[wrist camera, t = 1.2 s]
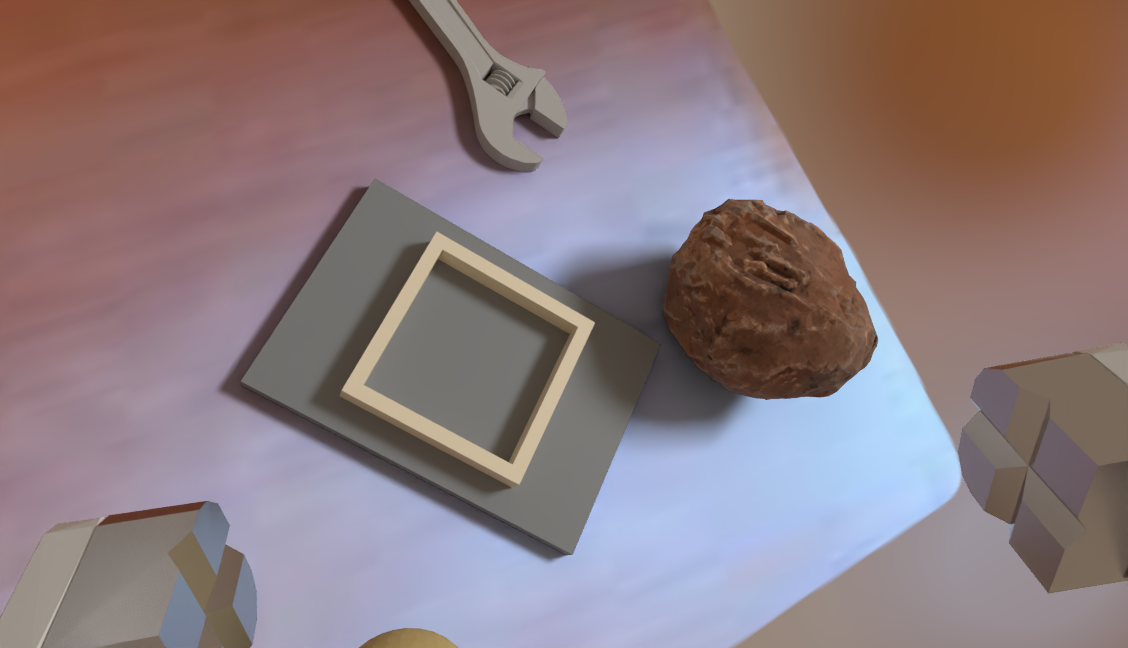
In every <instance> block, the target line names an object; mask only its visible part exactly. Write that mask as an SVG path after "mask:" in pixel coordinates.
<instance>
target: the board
mask: <svg viewBox="0 0 1128 648" xmlns="http://www.w3.org/2000/svg"><path fill="white" fill-rule="evenodd" d="M660 346H661V344H660V343H658V342H657V341H655V340H653V339H651V338H650V337H648V336H646V335H645V334H643V333H641V332H639V331H638V330H636V329H634V328H632V327H631V326H629V325H627V324H626V323H624V322H622V321H620V320H619V319H617V318H615V317H613V316H612V315H610V314H608V313H607V312H605V311H603V310H601V309H600V308H598V307H596V306H594V305H593V304H591V303H589V302H588V301H586V300H584V299H582V298H581V297H579V296H577V295H575V294H574V293H572V292H570V291H569V290H567V289H565V288H563V287H562V286H560V285H558V284H557V283H555V282H553V281H551V280H550V279H548V278H546V277H544V276H543V275H541V274H539V273H538V272H536V271H534V270H532V269H531V268H529V267H527V266H525V265H524V264H522V263H520V262H519V261H517V260H515V259H513V258H512V257H510V256H508V255H506V254H505V253H503V252H501V251H500V250H498V249H496V248H494V247H493V246H491V245H489V244H487V243H486V242H484V241H482V240H481V239H479V238H477V237H475V236H474V235H472V234H470V233H468V232H467V231H465V230H463V229H462V228H460V227H458V226H456V225H455V224H453V223H451V222H450V221H448V220H446V219H444V218H443V217H441V216H439V215H437V214H436V213H434V212H432V211H431V210H429V209H427V208H425V207H424V206H422V205H420V204H418V203H417V202H415V201H413V200H412V199H410V198H408V197H406V196H405V195H403V194H401V193H399V192H398V191H396V190H394V189H393V188H391V187H389V186H387V185H386V184H384V183H382V182H380V181H379V180H377V179H374V181H373V182H372V184H371V185H370V187H369V188H368V190H367V191H366V193H365V194H364V196H363V197H362V199H361V200H360V202H359V203H358V205H357V206H356V208H355V209H354V211H353V212H352V214H351V215H350V217H349V218H348V220H347V221H346V223H345V224H344V226H343V227H342V229H341V230H340V232H339V233H338V235H337V236H336V238H335V239H334V241H333V242H332V244H331V245H330V247H329V248H328V250H327V251H326V253H325V255H324V256H323V258H322V259H321V261H320V262H319V264H318V265H317V267H316V268H315V270H314V271H313V273H312V274H311V276H310V277H309V279H308V280H307V282H306V283H305V285H304V286H303V288H302V289H301V291H300V292H299V294H298V295H297V297H296V298H295V300H294V301H293V303H292V304H291V306H290V307H289V309H288V310H287V312H286V313H285V315H284V316H283V318H282V319H281V321H280V322H279V324H278V325H277V327H276V328H275V330H274V332H273V333H272V335H271V336H270V338H269V339H268V341H267V342H266V344H265V345H264V347H263V348H262V350H261V351H260V353H259V354H258V356H257V357H256V359H255V360H254V362H253V363H252V365H251V366H250V368H249V369H248V371H247V372H246V374H245V375H244V377H243V378H242V380H241V385H242V386H243V387H245V388H247V389H249V390H251V391H253V392H255V393H257V394H259V395H261V396H263V397H265V398H266V399H268V400H270V401H272V402H274V403H276V404H278V405H280V406H282V407H284V408H286V409H288V410H289V411H291V412H293V413H295V414H297V415H299V416H301V417H303V418H305V419H307V420H309V421H311V422H312V423H314V424H316V425H318V426H320V427H322V428H324V429H326V430H328V431H330V432H332V433H334V434H335V435H337V436H339V437H341V438H343V439H345V440H347V441H349V442H351V443H353V444H355V445H357V446H358V447H360V448H362V449H364V450H366V451H368V452H370V453H372V454H374V455H376V456H378V457H380V458H381V459H383V460H385V461H387V462H389V463H391V464H393V465H395V466H397V467H399V468H401V469H403V470H404V471H406V472H408V473H410V474H412V475H414V476H416V477H418V478H420V479H422V480H424V481H426V482H427V483H429V484H431V485H433V486H435V487H437V488H439V489H441V490H443V491H445V492H447V493H449V494H450V495H452V496H454V497H456V498H458V499H460V500H462V501H464V502H466V503H468V504H470V505H472V506H474V507H475V508H477V509H479V510H481V511H483V512H485V513H487V514H489V515H491V516H493V517H495V518H497V519H498V520H500V521H502V522H504V523H506V524H508V525H510V526H512V527H514V528H516V529H518V530H520V531H521V532H523V533H525V534H527V535H529V536H531V537H533V538H535V539H537V540H539V541H541V542H543V543H544V544H546V545H548V546H550V547H552V548H554V549H556V550H558V551H560V552H562V553H564V554H566V555H573V553H574V550H575V548H576V545H577V543H578V541H579V538H580V536H581V534H582V531H583V529H584V526H585V524H586V522H587V519H588V517H589V515H590V512H591V510H592V507H593V505H594V503H595V500H596V498H597V495H598V493H599V491H600V488H601V486H602V484H603V481H604V479H605V476H606V474H607V472H608V469H609V467H610V465H611V462H612V460H613V457H614V455H615V453H616V450H617V448H618V446H619V443H620V441H621V438H622V436H623V434H624V431H625V429H626V426H627V424H628V422H629V419H630V417H631V415H632V412H633V410H634V407H635V405H636V403H637V400H638V398H639V396H640V393H641V391H642V388H643V386H644V384H645V381H646V379H647V377H648V374H649V372H650V369H651V367H652V365H653V362H654V360H655V357H656V355H657V353H658V350H659V348H660Z"/></svg>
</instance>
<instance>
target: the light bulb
mask: <svg viewBox="0 0 1128 648" xmlns="http://www.w3.org/2000/svg"><path fill="white" fill-rule="evenodd" d="M359 648H458V647H457V646H456V645H455V644H453V643H452V642H451V641H450V640H448V639H447V638H445V637H443V636H441V635H439V634H437V633H435V632H432V631H428V630H424V629H416V628H404V629H398V630H392V631H389V632H386V633H382V634H380V635H378V636H376V637H374V638H372V639H370V640H369V641H367V642H366V643H365V644H363V645H362V646H361V647H359Z"/></svg>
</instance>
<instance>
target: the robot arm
mask: <svg viewBox="0 0 1128 648" xmlns="http://www.w3.org/2000/svg"><path fill="white" fill-rule="evenodd" d="M970 398H971V399H972V401H973V402H974V403H975V405H976V406H977V408H978V409H979V410H980V411H979V412H978V413H977V414H976V415H975V416H974V417H973V418H972V419H971V420H970V421H969V422H968V423H967V424H966V425H965V426H964V427H963V429H962V433H961V439H960V444H959V449H958V454H959V460H960V465H961V471H962V476H963V478H964V480H965V482H966V484H967V486H968V488H969V490H970V492H971V494H972V495H973V497H974V498H975V499H976V501H977V502H978V503H979V505H980V506H981V507H982V509H983V510H984V511H985V512H987V513H989V514H991V515H993V516H995V517H997V518H999V519H1001V520H1003V521H1005V522H1007V523H1009V524H1010V532H1009V544H1010V545H1011V546H1012V548H1013V549H1014V550H1015V551H1016V553H1017V554H1018V555H1019V556H1020V558H1021V559H1022V560H1023V562H1024V563H1025V564H1026V565H1027V567H1028V568H1029V569H1030V570H1031V572H1032V573H1033V574H1034V575H1035V577H1036V578H1037V579H1038V580H1039V582H1040V583H1041V584H1042V586H1043V587H1044V588H1045V590H1046V591H1047V592H1048V593H1054V592H1060V591H1066V590H1072V589H1078V588H1084V587H1091V586H1097V585H1103V584H1109V583H1115V582H1121V581H1128V345H1126V344H1122V343H1117V344H1111V345H1106V346H1101V347H1096V348H1090V349H1085V350H1080V351H1075V352H1073V353H1065V354H1060V355H1054V356H1049V357H1043V358H1038V359H1032V360H1027V361H1021V362H1015V363H1010V364H1004V365H999V366H994V367H988V368H984V369H983V370H982V372H981V373H980V374H979V375H978V376H977V377H976V379H975V381H974V385H973V389H972V393H971V396H970ZM229 527H230V525H229V523H228V521H227V519H226V517H225V516H224V514H223V512H222V510H221V508H220V506H219V505H218V503H214V502H209V501H204V502H197V503H190V504H183V505H177V506H170V507H163V508H156V509H149V510H143V511H136V512H129V513H122V514H115V515H109V516H108V517H104V518H97V519H89V520H82V521H75V522H68V523H61V524H57V525H56V526H54V527H53V528H52V529H50V530H49V531H48V532H47V533H45V534H44V535H43V537H42V538H41V540H40V542H39V544H38V546H37V548H36V550H35V552H34V554H33V556H32V558H31V560H30V561H29V563H28V565H27V567H26V569H25V571H24V573H23V575H22V577H21V579H20V581H19V583H18V584H17V586H16V588H15V590H14V592H13V594H12V596H11V598H10V600H9V602H8V604H7V606H6V607H5V609H4V611H3V613H2V615H1V617H0V648H250V647H251V646H252V644H253V639H254V633H255V628H256V622H257V591H256V587H255V582H254V578H253V574H252V570H251V568H250V566H249V564H248V562H247V560H246V557H245V555H244V554H242V553H240V552H239V551H237V550H235V549H233V548H231V547H229V546H227V545H226V544H225V543H226V539H227V535H228V531H229Z"/></svg>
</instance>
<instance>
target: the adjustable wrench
mask: <svg viewBox="0 0 1128 648" xmlns="http://www.w3.org/2000/svg"><path fill="white" fill-rule="evenodd" d="M409 1H410V3H411V4H412V5H413V7H414V8H415V9H416V11H417V12H418V13H419V15H420V16H421V17H422V19H423V20H424V21H425V23H426V24H427V25H428V27H429V28H430V29H431V31H432V32H433V33H434V35H435V36H436V37H437V39H438V40H439V41H440V43H441V44H442V45H443V47H444V48H445V49H446V51H447V52H448V53H449V55H450V56H451V57H452V59H453V60H454V61H455V63H456V65H457V66H458V68H459V69H460V71H461V74H462V76H463V79H464V81H465V85H466V88H467V92H468V95H469V98H470V103H471V107H472V113H473V120H474V126H475V133H476V136H477V139H478V141H479V143H480V145H481V146H482V148H483V150H484V151H485V152H486V153H487V154H488V155H489V156H490V157H491V158H492V159H493V160H495V161H496V162H497V163H499V164H501V165H502V166H504V167H506V168H509V169H513V170H516V171H519V172H533V171H535V170H536V169H537V168H538V167H539V165H540V164H541V162H542V160H543V158H542V157H541V156H539V155H538V154H536V153H535V152H533V151H532V150H530V149H529V148H527V147H526V146H524V145H523V144H522V143H520V142H519V141H517V140H516V139H514V138H513V120H514V119H515V117H517V116H519V115H522V114H527V113H530V119H531V120H533V121H534V122H535V123H537V124H538V125H540V126H541V127H543V128H544V129H546V130H547V131H548V132H550V133H551V134H553V135H554V136H556V137H557V138H559V137H560V135H561V134H562V132H563V131H564V129H565V127H566V126H567V124H568V123H567V116H566V112H565V109H564V106H563V103H562V101H561V99H560V97H559V95H558V94H557V93H556V91H555V90H554V88H553V87H552V86H551V85H550V83H549V82H548V81H547V80H546V79H545V78H544V75H545V73H546V71H544V70H542V69H535V68H534V67H532V66H529V67H524V66H521V65H519V64H517V63H515V62H513V61H511V60H509V59H507V58H505V57H503V56H502V55H500V54H499V53H498V52H496V51H495V50H494V49H493V48H492V47H491V46H490V45H489V44H488V43H487V42H486V41H485V39H484V38H483V37H482V35H481V34H480V33H479V31H478V30H477V29H476V27H475V26H474V24H473V23H472V22H471V20H470V19H469V17H468V16H467V15H466V13H465V12H464V10H463V9H462V8H461V6H460V5H459V4H458V2H457V1H456V0H409ZM489 72H490V73H491V75H490V76H489V77H488V79H486V81H484V79H485V78H486V76H487V75H488V74H489Z"/></svg>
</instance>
